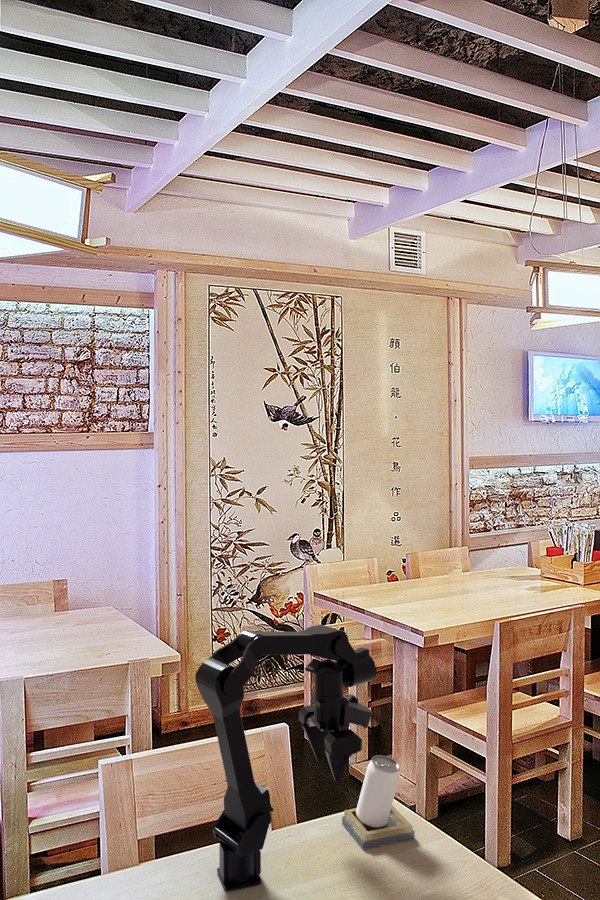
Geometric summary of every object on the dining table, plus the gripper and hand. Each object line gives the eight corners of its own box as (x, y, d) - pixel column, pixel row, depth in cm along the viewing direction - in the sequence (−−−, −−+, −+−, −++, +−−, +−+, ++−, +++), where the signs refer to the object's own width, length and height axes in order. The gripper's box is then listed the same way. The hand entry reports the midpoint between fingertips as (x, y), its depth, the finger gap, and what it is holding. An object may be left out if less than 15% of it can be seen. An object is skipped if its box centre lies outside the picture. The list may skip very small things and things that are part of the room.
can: (392, 829, 148) (407, 773, 147) (362, 829, 146) (377, 772, 145) (379, 807, 155) (393, 754, 153) (350, 807, 152) (364, 753, 151)
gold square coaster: (362, 849, 143) (362, 835, 143) (342, 823, 153) (342, 810, 153) (414, 839, 147) (414, 825, 147) (391, 814, 156) (391, 801, 156)
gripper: (387, 702, 141) (387, 786, 141) (348, 673, 158) (348, 747, 159) (332, 710, 137) (332, 795, 137) (297, 679, 155) (297, 755, 155)
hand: (329, 771), depth 147 cm, fingers open, 9 cm apart
